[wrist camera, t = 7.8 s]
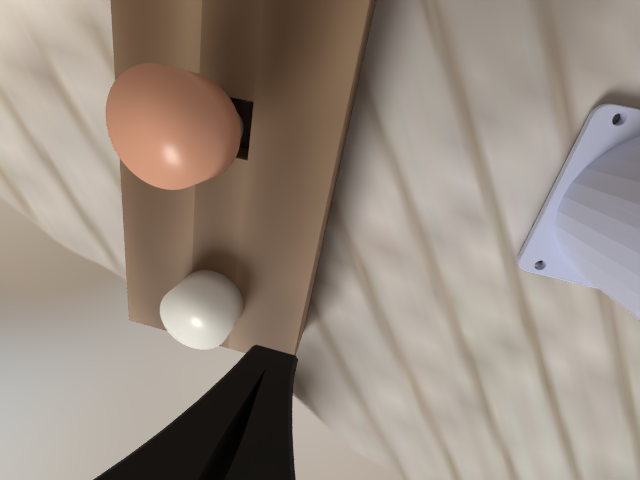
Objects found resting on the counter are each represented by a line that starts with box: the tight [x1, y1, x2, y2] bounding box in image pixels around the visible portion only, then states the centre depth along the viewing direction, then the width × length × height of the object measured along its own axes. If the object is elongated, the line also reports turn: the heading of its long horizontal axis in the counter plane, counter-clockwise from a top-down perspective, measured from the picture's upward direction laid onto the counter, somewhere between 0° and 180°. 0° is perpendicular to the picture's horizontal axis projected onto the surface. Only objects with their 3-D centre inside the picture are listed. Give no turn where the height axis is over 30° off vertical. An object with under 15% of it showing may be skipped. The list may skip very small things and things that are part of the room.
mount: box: [111, 0, 376, 355], centre depth 15 cm, size 10×24×3 cm, turn 169°
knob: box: [160, 270, 243, 350], centre depth 17 cm, size 4×4×4 cm
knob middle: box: [106, 63, 244, 190], centre depth 12 cm, size 4×4×4 cm
